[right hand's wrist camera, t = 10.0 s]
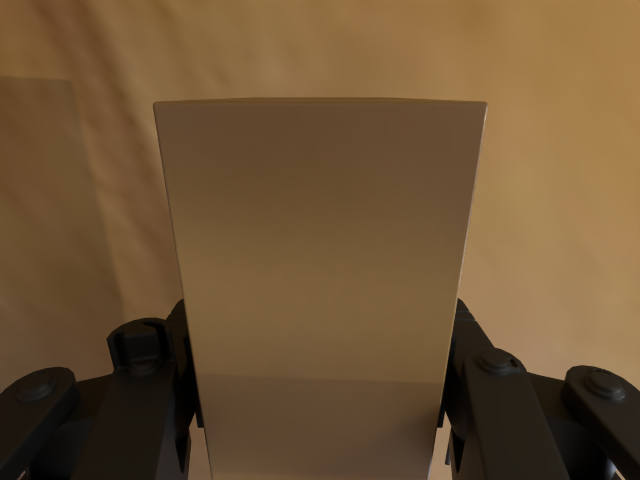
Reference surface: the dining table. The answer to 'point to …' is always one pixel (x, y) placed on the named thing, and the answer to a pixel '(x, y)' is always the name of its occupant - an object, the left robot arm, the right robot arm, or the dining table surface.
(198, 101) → the post
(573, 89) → the dining table surface
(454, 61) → the dining table surface
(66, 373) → the right robot arm
